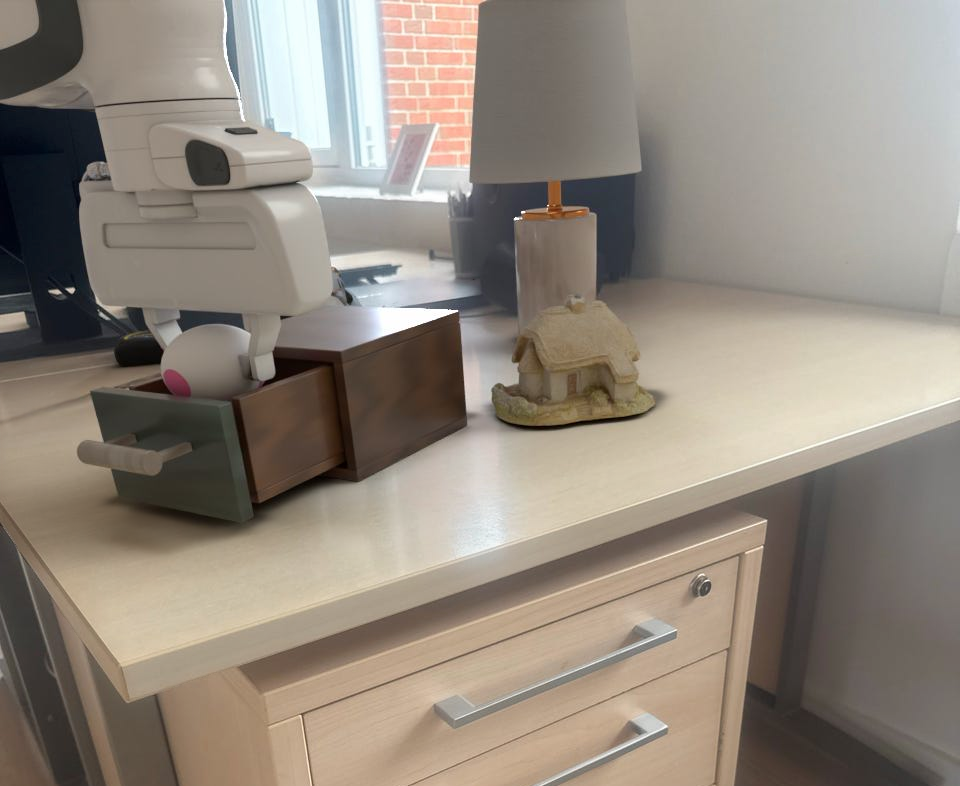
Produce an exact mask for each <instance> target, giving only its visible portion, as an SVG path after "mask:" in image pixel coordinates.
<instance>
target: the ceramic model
mask: <svg viewBox="0 0 960 786" xmlns="http://www.w3.org/2000/svg"><path fill="white" fill-rule="evenodd" d="M640 359H641V353H640V350H639V347H638V342H637V340H636V338H635V335H634V333H633V332H632V330H631V328H630V327H629V326H627V325H625V324H624V323H623V322H622V321H621V320H620V319H619V317H617V316H616V314H615V313H614V312H613V311H611V309H610V308H609V307H608V306H607V303H606V302H605V301H602V300H597V301H588V302H585V298H584V297H583V296H582V295H578V294H574V295H568V296H567V299H566V304H565V306H555V307H551V308H547V309H545V310H540V311H539V314H538V316H536V317H535V318H534V320H533V321H532V322H531V323H529V324H528V326H527V327H524V328H523V329H522V331H521V332H520V334H519V333H518V337H517V340H516V342H515V346H514V348H513V350H512V355H511V363H512V364H518V365H517V368H516V369H517V370H516V371H517V372H518V383H514V384H510V385H506V386H505V385H504V384H503V383H501V382H497V383H495V384H494V385H493V386H492V387H491V389H490V392H491V402H492V403H491V404H492V405H493V406H494V410H495V411H494V412H496V417H498V418H499V419H500V420H503V421H504V422H506V423H510V424H515V425H522V426H531V427H532V426H533V427H535V426H536V427H537V426H538V427H539V426H540V427H541V426H558V425H566V424H571V423H576V422H580V421H581V422H582V421H583V422H585V421H593V420H600V419H610V418H622V417H628V416H633V415H637V414H638V415H639V414H643V413H645V412H648V411H649V409H650V410H651V408H652V407H654V406H655V404H656V401H655V399H654V396H653V395H652V394H650V393H649V392H648V391H647V390H646V389H645V388H644V387H643V386H641V385H639V384H638V383H637V381H638V380H639V376H640V372H639V370H638V367H637V366H636V364H635V362H637V361H639V360H640Z"/></svg>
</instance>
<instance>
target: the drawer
mask: <svg viewBox="0 0 960 786" xmlns="http://www.w3.org/2000/svg"><path fill="white" fill-rule="evenodd" d="M273 360H274V366H275V375H274V377H273V378H271V379H268V380H265V382H264V383H263V385H262V386H261V388H258V389H255V390H252V391H249V392H247V393H244V394H241V395H238V396H235V397H232V398H231V401H232V403H231V402H228V401H219V400H211V399H202V398H194V397H185V396H176V395H174V394H173V393H172V392H171V391H170V390H169V389H168V387H167V386H166V384H165V383H164V380H163V378H162V375H161V376H158V377H154V378H151V379H147V380H143V381H141V382H138V383H135V384H131V385H129V386H128V389H124V388H117V387H116V388H115V387H107V386H101V387H98V388H94V389H91V390H89V393H90V398H91V402H92V405H93V409H94V411H95V417H96V419H97V423H98V426H99V427H98V428H99V430H100V434H101V438H102V441H97V440H92V439H84V440H82V441H80V442H79V444H78V446H77V448H76V456H77V458H78V460H79V461H80V463H82V464H85V465H90V466H95V467H101V468H106V469H110V471H111V474H112V479H113V482H114V485H115V489H116V492H117V496H118V498H119V499H123V500H127V501H128V500H129V501H133V502H138V503H142V504H148V505H152V506H158V507H162V508H168V509H174V510H178V511H182V512H187V513H192V514H197V515H201V516H205V517H211V518H217V519H220V520H221V519H222V520H226V521H232V522H237V523H241V524H242V523H245V522H247V521H249V520H251V519H253V518H254V517H255V515H254V509H253V505H252V503H256V504H261V503H263V502H265V501H267V500H270V499H272V498H274V497H276V496H277V495H279V494H282V493H283V492H286V491H288V490H290V489H292V488H294V487H296V486H298V485H300V484H302V483H305V482H307V481H308V480H310V479H312V478H314V477H316V476H317V477H318V476H320V475H319V474H321V473H323V472H325V471H327V470H329V469H331V468H333V467H335V466H337V465H339V464H341V463H343V462H346V461H347V458H346V451H345V444H344V437H343V429H342V422H341V415H340V408H339V401H338V394H337V386H336V379H335V372H334V365H333V363H329V362H317V361H305V360H292V359H280V358H273ZM232 406H233V409H232ZM233 411H234V414H233Z"/></svg>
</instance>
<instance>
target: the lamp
mask: <svg viewBox="0 0 960 786" xmlns="http://www.w3.org/2000/svg"><path fill="white" fill-rule="evenodd" d="M477 7H478V9H477V10H478V12H477V13H478V15H477V35H476V49H475V50H476V52H475V65H474V67H475V68H474V83H473V100H472V117H471V137H470V139H471V140H470V155H469V156H470V157H469V175H468V176H469V177H468V182H469V183H470V184H477V185H479V184H480V185H500V184H501V185H502V184H524V183H525V184H527V183H529V184H530V183H546V182H547V197H548V199H547V201H548V203H547V204H548V205H547V207H538V208H531V209H525V210H522V211H521V212H520V213H521V215H520V216H516V217H515V218H513V231H514V232H513V233H514V256H515V257H514V258H515V281H516V282H515V283H516V303H517V305H516V307H517V325H518V326H517V328H518V331H517V332H518V335H519V334H520V332H521V331H522V329H523V328H524V327H527V326H528V324H529V323H531V322H532V321H533V320H534V318H535V317H536V316H538V314H539V311H540V310H545V309H547V308H551V307H555V306H565V304H566V299H567V296H568V295H574V294H578V295H582V296H583V297H584V298H585V302H588V301H598V300H597V299H598V298H597V297H598V296H597V295H598V294H597V290H598V289H597V287H598V286H597V280H598V279H597V278H598V277H597V274H598V273H597V269H598V267H597V261H598V260H597V259H598V258H597V256H598V255H597V248H598V247H597V245H598V244H597V240H598V239H597V233H598V232H597V225H598V224H597V223H598V221H597V220H598V219H597V213H595V212H592V211H590V207H588V206H581V205H580V206H579V205H577V206H575V205H570V206H569V205H568V206H563V204H562V185H561V184H562V182H563V181H574V180H585V179H586V180H587V179H596V178H597V179H598V178H607V177H608V178H609V177H617V176H625V175H632V174H637V173H641V172H642V170H643V168H642V157H641V156H642V155H641V147H640V135H639V125H638V113H637V104H636V93H635V83H634V81H635V80H634V72H633V64H632V63H633V62H632V55H631V45H630V33H629V27H628V26H629V25H628V15H627V3H626V0H484V1H481V2H480V3H479V4H478V6H477Z"/></svg>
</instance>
